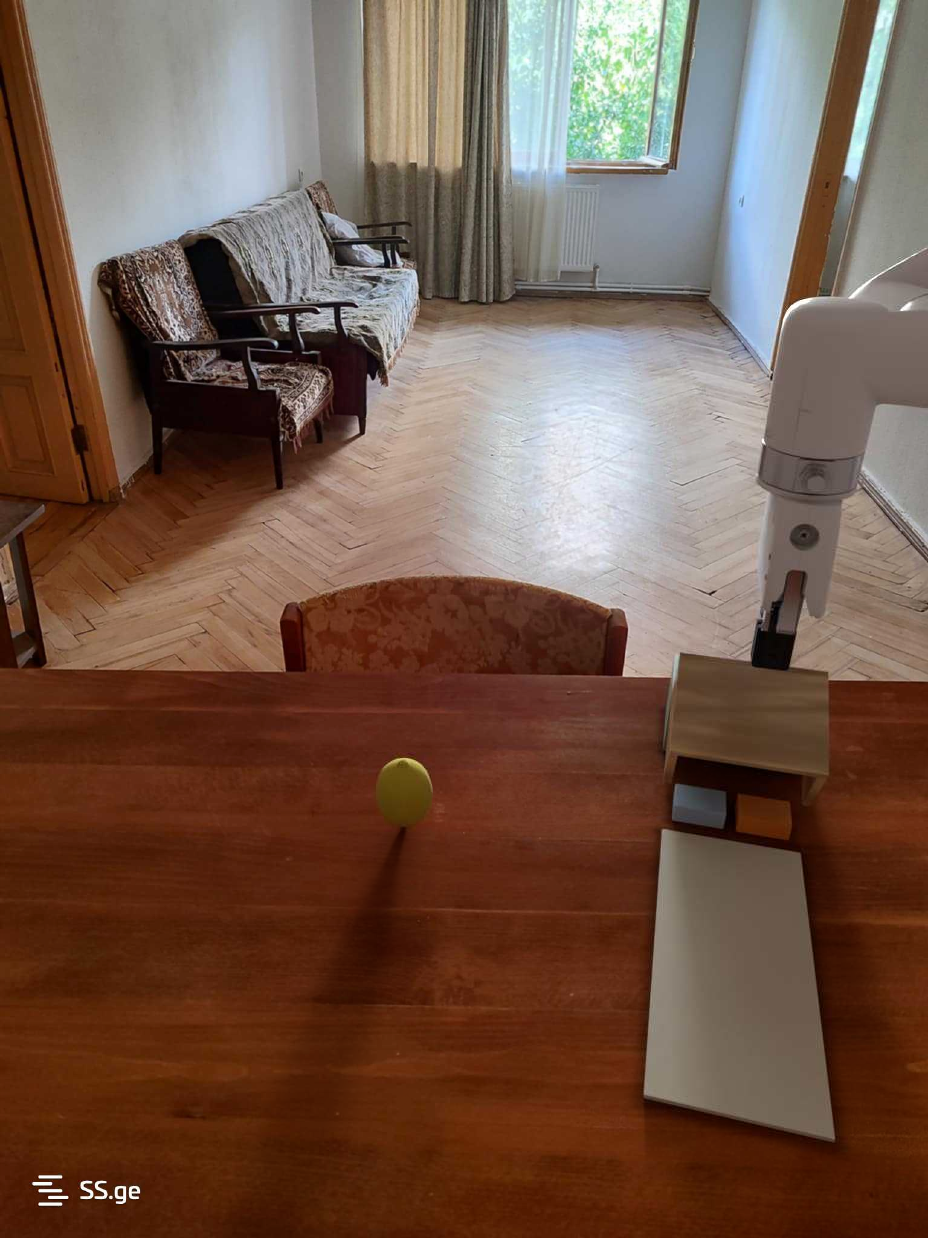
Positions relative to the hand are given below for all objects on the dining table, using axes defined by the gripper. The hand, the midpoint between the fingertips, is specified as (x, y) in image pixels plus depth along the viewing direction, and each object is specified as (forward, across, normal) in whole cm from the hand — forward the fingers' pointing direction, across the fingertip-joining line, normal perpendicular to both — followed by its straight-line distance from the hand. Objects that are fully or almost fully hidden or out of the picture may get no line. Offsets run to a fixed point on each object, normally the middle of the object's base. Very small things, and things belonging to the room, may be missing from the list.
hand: (769, 663), depth 78 cm
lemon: (+19, -8, +32) cm, 38 cm away
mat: (+19, -16, +1) cm, 25 cm away
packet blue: (+19, +1, +4) cm, 20 cm away
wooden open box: (+8, +9, 0) cm, 12 cm away
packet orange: (+20, +1, -2) cm, 20 cm away
